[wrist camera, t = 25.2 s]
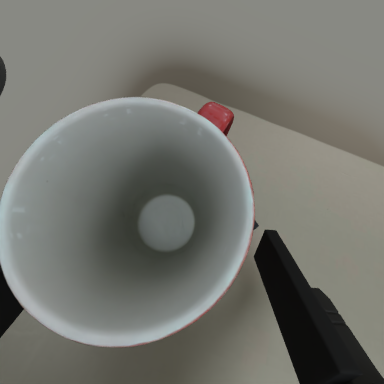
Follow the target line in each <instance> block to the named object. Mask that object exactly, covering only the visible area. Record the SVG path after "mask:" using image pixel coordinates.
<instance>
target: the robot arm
mask: <svg viewBox="0 0 384 384" xmlns="http://www.w3.org/2000/svg"><path fill="white" fill-rule="evenodd" d="M254 259H255V262H256V264H257V267H258V270H259V273H260V275H261V278H262V281H263V284H264V286H265V289H266V292H267V295H268V298H269V300H270V303H271V306H272V309H273V311H274V314H275V317H276V320H277V322H278V325H279V328H280V331H281V333H282V336H283V339H284V342H285V344H286V347H287V350H288V353H289V355H290V358H291V361H292V364H293V367H294V369H295V372H296V375H297V378H298V380H299V383H300V384H384V378H383V377H382V376H381V375H380V373H379V372H378V371H377V369H376V368H375V366H374V365H373V363H372V362H371V360H370V359H369V357H368V356H367V354H366V353H365V351H364V350H363V348H362V347H361V345H360V344H359V342H358V341H357V339H356V338H355V336H354V335H353V333H352V332H351V330H350V329H349V327H348V326H347V325H346V324H345V321H344V320H343V318H342V317H341V315H340V314H338V311H337V309H336V308H335V306H334V305H333V303H332V302H331V300H330V299H329V298H328V297H327V296H326V295H325V294H324V293H323V292H322V291H321V290H320V289H319V288H311V287H310V285H309V284H308V282H307V280H306V279H305V277H304V276H303V274H302V272H301V271H300V269H299V267H298V266H297V264H296V262H295V261H294V259H293V257H292V256H291V254H290V252H289V251H288V249H287V247H286V246H285V244H284V243H283V241H282V239H281V238H280V236H279V234H278V233H277V231H275V230H265V231H264V233H263V236H262V238H261V241H260V243H259V245H258V248H257V250H256V253H255V255H254ZM23 310H24V308H23V307H22V306H21V304H20V303H19V302H18V300H17V299H16V297H15V296H14V294H13V293H12V291H11V289H10V287H9V286H8V284H7V281H6V279H5V276H4V274H3V271H2V268H1V264H0V338H1V336H2V335H3V334H4V333H5V331H6V330H7V329H8V328H9V327H10V325H11V324H12V323H13V322H14V321H15V319H16V318H17V317H18V316H19V314H20V313H21V312H22V311H23Z"/></svg>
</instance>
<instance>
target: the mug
mask: <svg viewBox="0 0 384 384" xmlns="http://www.w3.org/2000/svg"><path fill="white" fill-rule="evenodd" d="M233 119H234V114H233V113H232V111H230V110H229V109H228V108H226V107H224V106H222V105H220V104H217V103H215V102H209V103H206V104H205V105H204V106H203V107H202V108H201V109H200V110H199V111H198V113H196V112H194V111H192V110H190V109H188V108H186V107H183V106H180V105H177V104H174V103H172V102H168V101H164V100H159V99H154V98H146V97H126V98H117V99H111V100H106V101H102V102H98V103H94V104H91V105H89V106H86V107H83V108H81V109H79V110H77V111H75V112H73V113H71V114H70V115H67V116H65V117H64V118H62V119H61V120H59V121H58V122H56V123H55V124H53V125H52V126H51V127H50V128H48V129H47V130H46V131H45V132H44V133H42V134H41V135H40V136H39V137H38V138H37V139H36V140H35V141H34V142H33V143H32V144H31V145H30V147H29V148H28V149H27V150H26V151H25V153H24V154H23V155H22V157H21V158H20V160H19V161H18V163H17V164H16V166H15V167H14V169H13V171H12V173H11V175H10V176H9V178H8V180H7V182H6V185H5V188H4V190H3V193H2V196H1V200H0V264H1V268H2V271H3V274H4V276H5V279H6V281H7V284H8V286H9V287H10V289H11V291H12V293H13V294H14V296H15V297H16V299H17V300H18V302H19V303H20V304H21V306H22V307H23V308H24V309H25V310H26V311H27V312H28V313H29V314H30V315H31V316H32V317H34V318H35V319H36V320H37V321H38V322H40V323H41V324H42V325H44V326H45V327H46V328H48V329H49V330H51V331H53V332H55V333H57V334H59V335H61V336H63V337H65V338H67V339H69V340H72V341H75V342H78V343H81V344H87V345H92V346H100V347H119V348H121V347H134V346H139V345H144V344H148V343H151V342H154V341H157V340H161V339H163V338H166V337H168V336H171V335H173V334H175V333H177V332H179V331H181V330H183V329H184V328H186V327H187V326H189V325H191V324H192V323H194V322H195V321H197V320H198V319H199V318H200V317H202V316H203V315H204V314H205V313H207V312H208V311H209V310H210V309H211V308H212V307H213V306H214V305H215V304H216V303H217V302H218V301H219V300H220V299H221V298H222V296H223V295H224V294H225V292H226V291H227V290H228V289H229V288H230V286H231V285H232V283H233V282H234V280H235V279H236V277H237V275H238V274H239V271H240V269H241V267H242V265H243V263H244V261H245V259H246V256H247V253H248V251H249V248H250V244H251V239H252V235H253V229H254V221H255V205H254V191H253V188H252V183H251V180H250V177H249V174H248V171H247V168H246V166H245V164H244V162H243V160H242V158H241V156H240V154H239V152H238V151H237V150H236V148H235V147H234V145H233V144H232V143H231V141H230V140H229V139H228V138H227V137H226V136H227V134H228V132H229V129H230V127H231V125H232V123H233Z"/></svg>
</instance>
